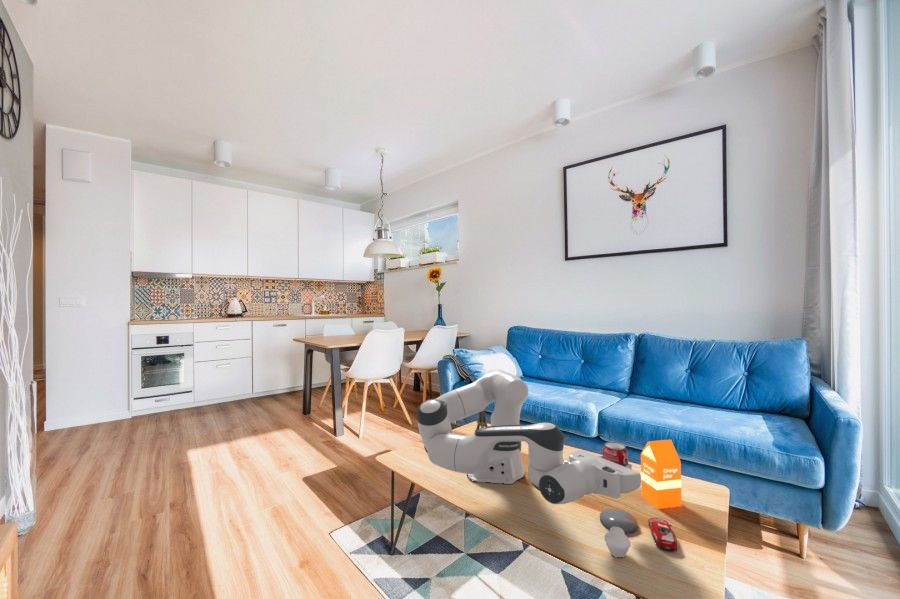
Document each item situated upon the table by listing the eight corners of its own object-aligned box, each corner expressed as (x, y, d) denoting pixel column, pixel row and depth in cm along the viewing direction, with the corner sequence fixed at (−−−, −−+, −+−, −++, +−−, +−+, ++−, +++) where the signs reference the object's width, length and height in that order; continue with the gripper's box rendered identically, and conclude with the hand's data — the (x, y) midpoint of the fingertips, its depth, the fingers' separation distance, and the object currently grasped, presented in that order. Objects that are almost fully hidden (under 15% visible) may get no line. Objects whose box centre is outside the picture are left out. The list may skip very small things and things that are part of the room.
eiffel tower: (466, 442, 176) (466, 389, 176) (482, 436, 183) (481, 386, 183) (482, 448, 168) (481, 393, 168) (498, 442, 175) (497, 390, 175)
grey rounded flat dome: (609, 534, 105) (609, 529, 105) (594, 514, 115) (594, 509, 115) (644, 533, 105) (644, 527, 105) (626, 513, 115) (625, 508, 115)
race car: (647, 523, 110) (646, 509, 111) (667, 526, 109) (667, 512, 109) (655, 550, 98) (655, 535, 98) (679, 555, 96) (678, 539, 96)
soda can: (623, 480, 114) (622, 441, 114) (632, 491, 107) (632, 450, 107) (599, 479, 114) (599, 440, 114) (607, 490, 107) (606, 449, 107)
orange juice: (682, 506, 118) (680, 443, 119) (657, 509, 117) (656, 446, 117) (664, 494, 126) (662, 435, 126) (641, 496, 125) (639, 437, 125)
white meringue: (605, 559, 95) (604, 531, 95) (604, 544, 100) (603, 518, 101) (631, 564, 92) (631, 536, 93) (629, 549, 98) (629, 523, 98)
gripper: (560, 471, 112) (589, 460, 119) (622, 501, 95) (652, 486, 102) (559, 450, 112) (588, 441, 119) (622, 476, 95) (651, 463, 102)
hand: (618, 462), depth 111 cm, fingers closed on soda can, 5 cm apart
